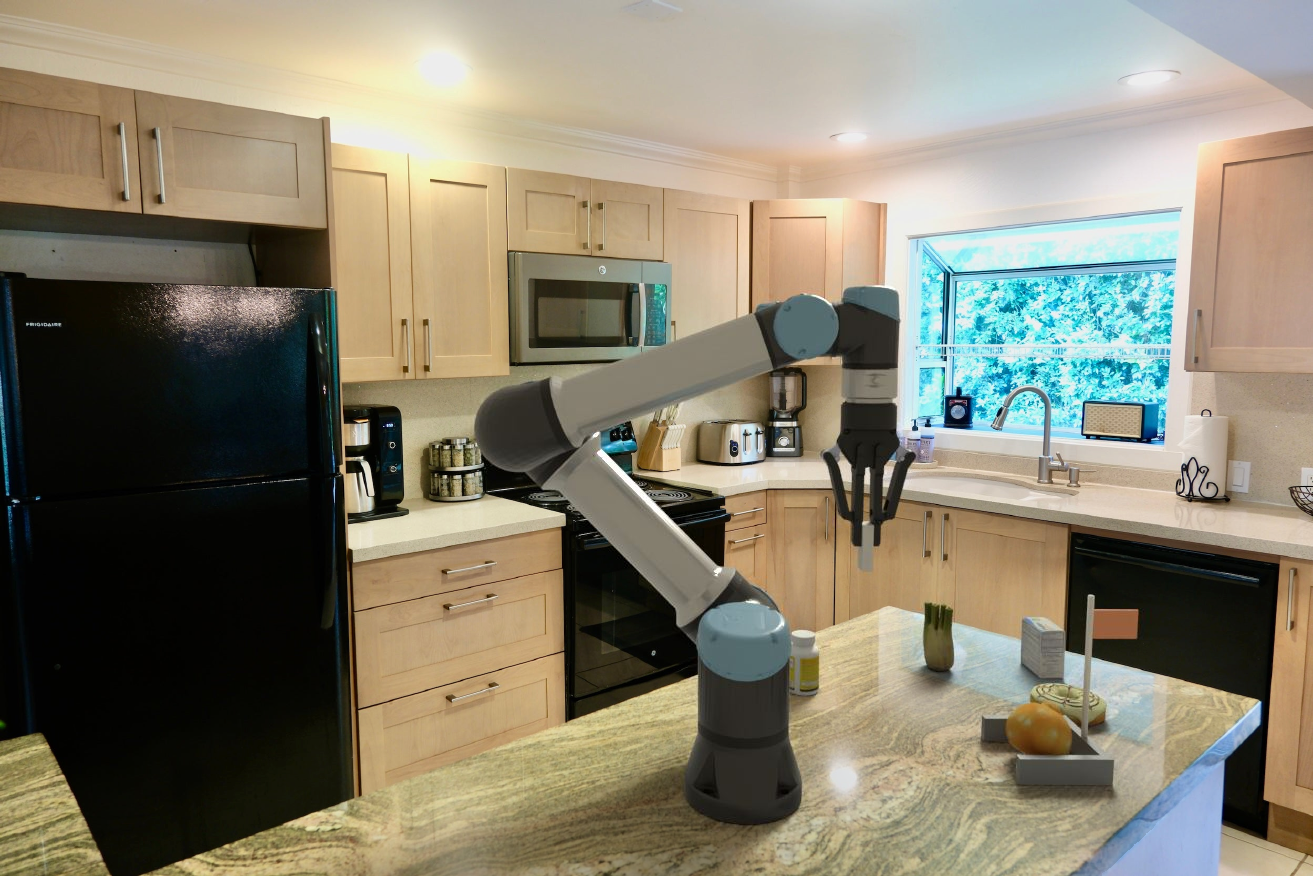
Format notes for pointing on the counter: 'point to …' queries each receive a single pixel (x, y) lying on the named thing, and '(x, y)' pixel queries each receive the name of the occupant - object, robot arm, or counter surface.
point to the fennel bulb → (938, 636)
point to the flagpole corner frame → (1087, 755)
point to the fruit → (1039, 730)
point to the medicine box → (1043, 647)
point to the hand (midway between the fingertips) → (865, 568)
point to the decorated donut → (1070, 701)
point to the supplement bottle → (804, 664)
